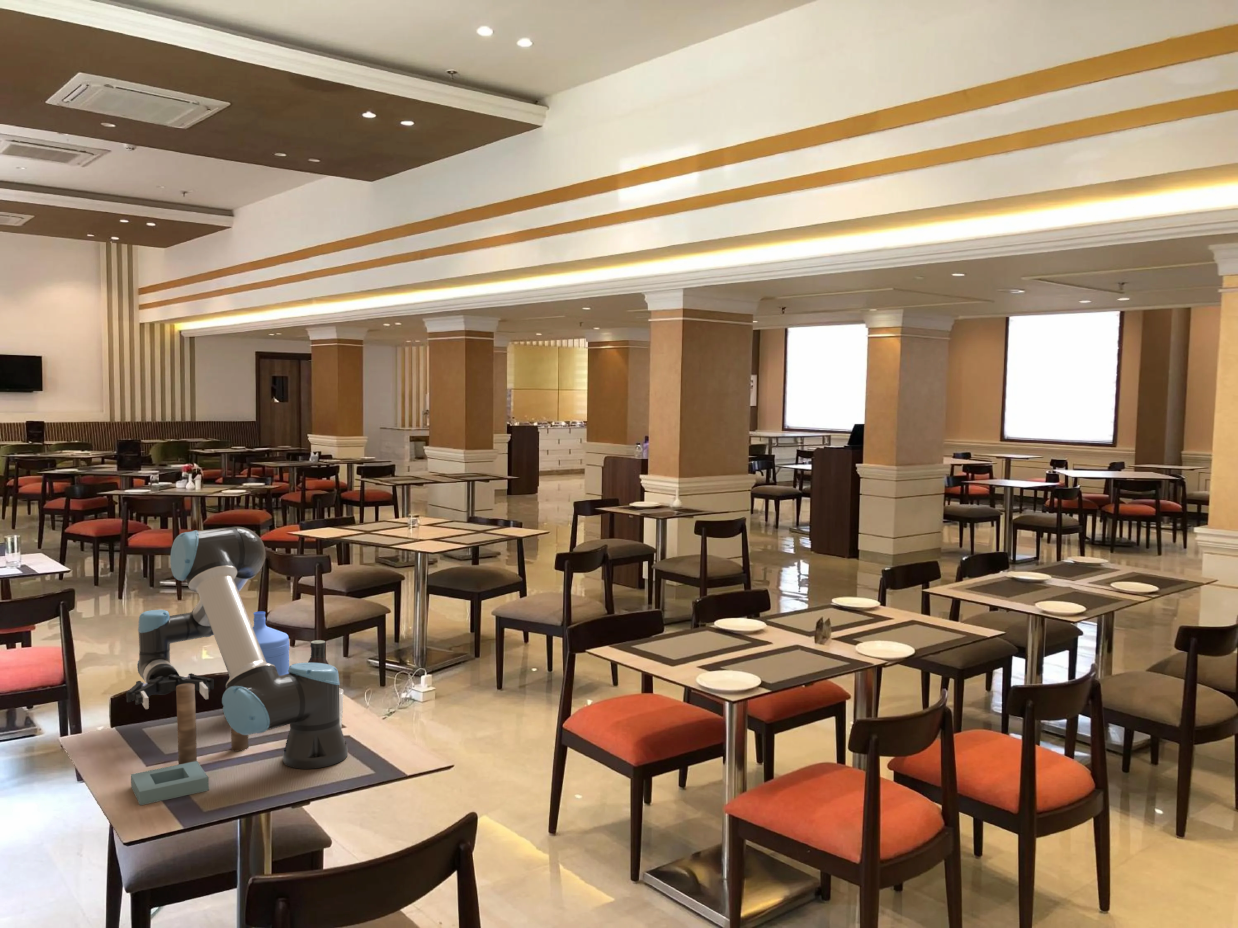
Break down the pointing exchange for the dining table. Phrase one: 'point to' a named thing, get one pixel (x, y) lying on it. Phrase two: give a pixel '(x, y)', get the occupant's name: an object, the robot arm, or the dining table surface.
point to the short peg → (238, 741)
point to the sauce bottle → (318, 652)
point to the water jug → (272, 644)
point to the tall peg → (186, 723)
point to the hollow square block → (169, 782)
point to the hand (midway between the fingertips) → (177, 698)
